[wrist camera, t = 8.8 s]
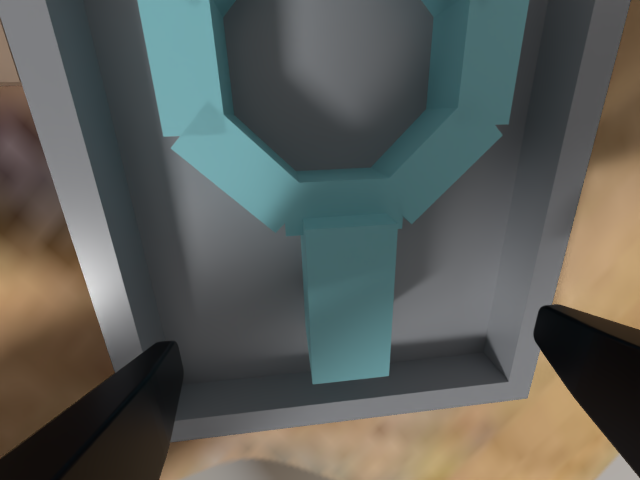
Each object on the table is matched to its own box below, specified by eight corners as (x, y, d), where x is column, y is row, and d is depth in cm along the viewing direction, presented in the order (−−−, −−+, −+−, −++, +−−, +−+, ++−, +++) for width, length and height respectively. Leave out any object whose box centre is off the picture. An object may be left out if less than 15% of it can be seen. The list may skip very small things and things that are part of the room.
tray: (490, 356, 16) (527, 398, 13) (162, 391, 14) (138, 446, 12) (613, -275, 8) (741, -424, 6) (-30, -333, 7) (-186, -560, 5)
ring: (445, 313, 13) (488, 364, 11) (219, 333, 12) (201, 396, 10) (501, -131, 8) (608, -251, 6) (138, -146, 8) (57, -298, 5)
